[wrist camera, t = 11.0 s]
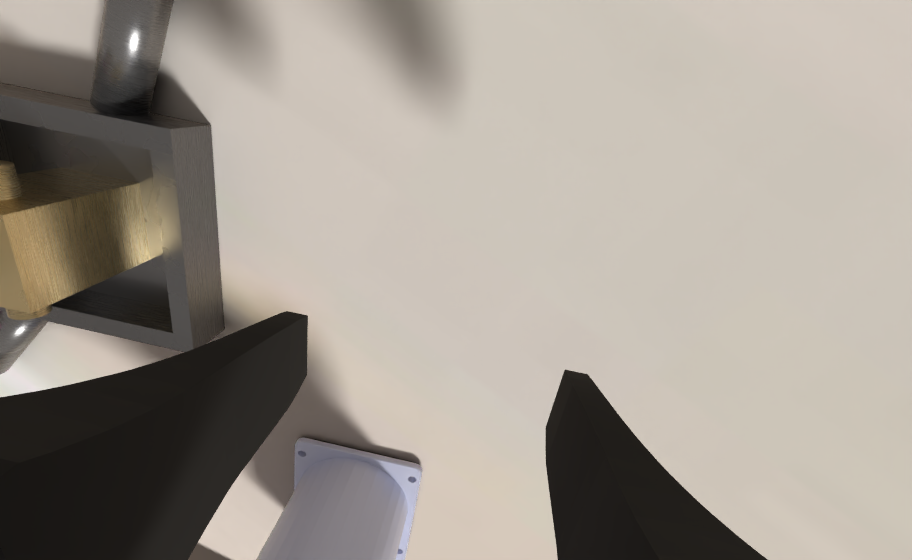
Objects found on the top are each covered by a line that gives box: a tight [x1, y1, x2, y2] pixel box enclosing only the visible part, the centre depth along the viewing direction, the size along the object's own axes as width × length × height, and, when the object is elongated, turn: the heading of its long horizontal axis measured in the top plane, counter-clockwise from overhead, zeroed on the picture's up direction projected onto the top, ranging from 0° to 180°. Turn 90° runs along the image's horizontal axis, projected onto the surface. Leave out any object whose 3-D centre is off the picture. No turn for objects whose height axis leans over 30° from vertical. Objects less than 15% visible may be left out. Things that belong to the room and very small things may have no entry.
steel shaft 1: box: [0, 311, 48, 374], centre depth 25 cm, size 7×2×2 cm, turn 130°
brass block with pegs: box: [0, 160, 150, 320], centre depth 19 cm, size 6×4×6 cm, turn 171°
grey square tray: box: [0, 83, 224, 352], centre depth 21 cm, size 11×11×2 cm
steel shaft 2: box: [90, 0, 174, 116], centre depth 17 cm, size 7×2×2 cm, turn 150°
